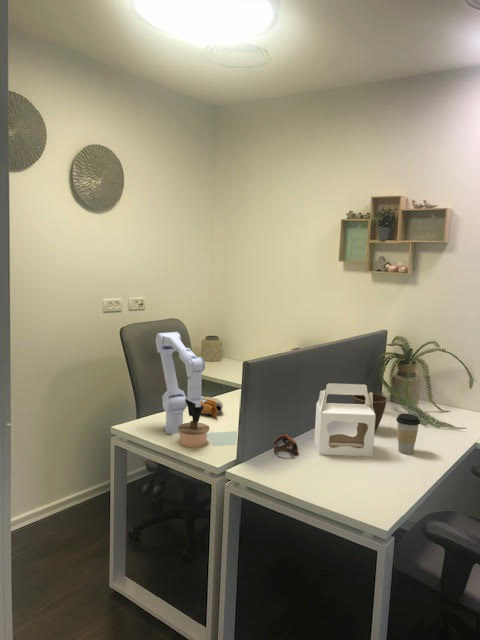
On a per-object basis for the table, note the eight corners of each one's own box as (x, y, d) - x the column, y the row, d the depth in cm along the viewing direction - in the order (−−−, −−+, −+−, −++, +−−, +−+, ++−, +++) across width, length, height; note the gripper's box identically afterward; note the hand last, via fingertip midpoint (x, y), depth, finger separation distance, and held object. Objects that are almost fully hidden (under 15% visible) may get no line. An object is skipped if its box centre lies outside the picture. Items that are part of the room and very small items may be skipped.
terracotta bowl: (177, 439, 214) (177, 425, 214) (202, 437, 218) (203, 423, 217) (182, 449, 204) (183, 434, 203) (209, 446, 207) (209, 432, 207)
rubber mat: (204, 434, 221) (204, 433, 221) (237, 432, 226) (237, 430, 225) (213, 447, 207) (213, 446, 207) (247, 444, 211) (248, 443, 211)
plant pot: (391, 434, 230) (393, 400, 227) (363, 437, 224) (366, 402, 222) (371, 423, 243) (373, 391, 241) (345, 426, 238) (347, 393, 236)
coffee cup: (402, 456, 204) (405, 421, 202) (389, 447, 213) (392, 413, 211) (422, 455, 207) (425, 419, 205) (408, 446, 216) (411, 412, 214)
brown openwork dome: (300, 459, 199) (292, 443, 197) (279, 466, 202) (270, 451, 199) (299, 440, 211) (291, 425, 208) (278, 448, 213) (270, 433, 210)
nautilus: (228, 422, 239) (197, 425, 236) (219, 406, 260) (191, 408, 257) (228, 406, 238) (196, 409, 234) (219, 391, 258) (190, 393, 255)
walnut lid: (175, 425, 214) (175, 417, 214) (205, 422, 218) (205, 415, 218) (181, 435, 202) (181, 428, 202) (212, 433, 206) (213, 425, 206)
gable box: (365, 444, 216) (369, 380, 213) (373, 456, 203) (378, 389, 200) (313, 442, 216) (317, 378, 213) (318, 454, 203) (322, 387, 200)
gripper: (208, 391, 202) (207, 424, 204) (200, 382, 216) (199, 412, 218) (190, 392, 200) (190, 425, 202) (183, 382, 214) (183, 413, 215)
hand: (193, 418), depth 209 cm, fingers open, 7 cm apart
